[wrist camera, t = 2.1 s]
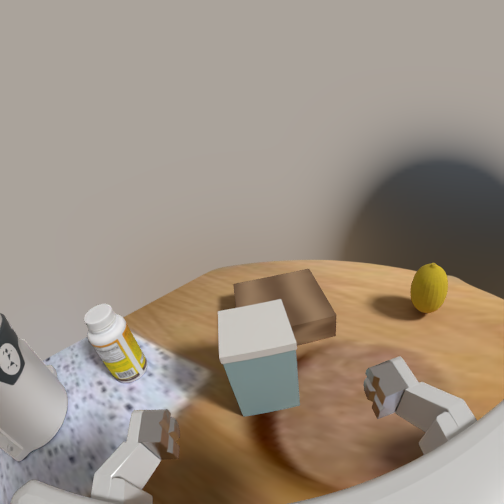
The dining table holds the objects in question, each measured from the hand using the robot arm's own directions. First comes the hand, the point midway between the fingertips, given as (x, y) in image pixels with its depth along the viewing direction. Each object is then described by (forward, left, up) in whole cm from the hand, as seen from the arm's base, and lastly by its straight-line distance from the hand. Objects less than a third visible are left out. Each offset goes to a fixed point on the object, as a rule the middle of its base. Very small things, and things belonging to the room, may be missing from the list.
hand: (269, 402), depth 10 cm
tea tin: (0, +12, -16) cm, 21 cm away
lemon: (+24, +17, -17) cm, 34 cm away
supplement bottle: (-18, +18, -17) cm, 31 cm away
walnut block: (+4, +24, -17) cm, 30 cm away
